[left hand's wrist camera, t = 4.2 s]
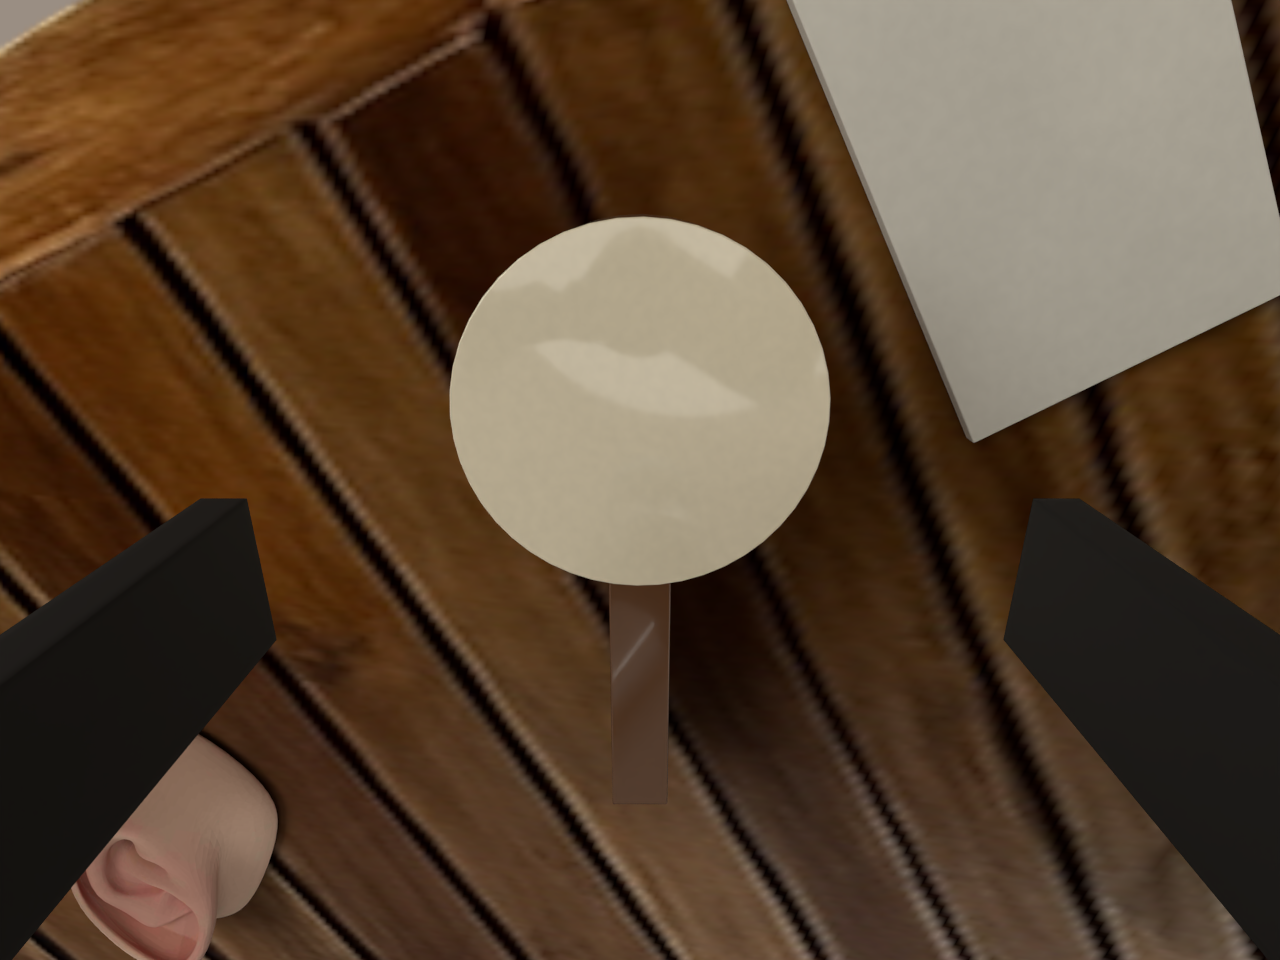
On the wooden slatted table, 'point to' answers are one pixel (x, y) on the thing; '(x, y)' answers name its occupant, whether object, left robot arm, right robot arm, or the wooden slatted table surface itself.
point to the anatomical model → (182, 858)
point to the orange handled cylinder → (639, 691)
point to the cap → (640, 400)
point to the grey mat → (1053, 181)
